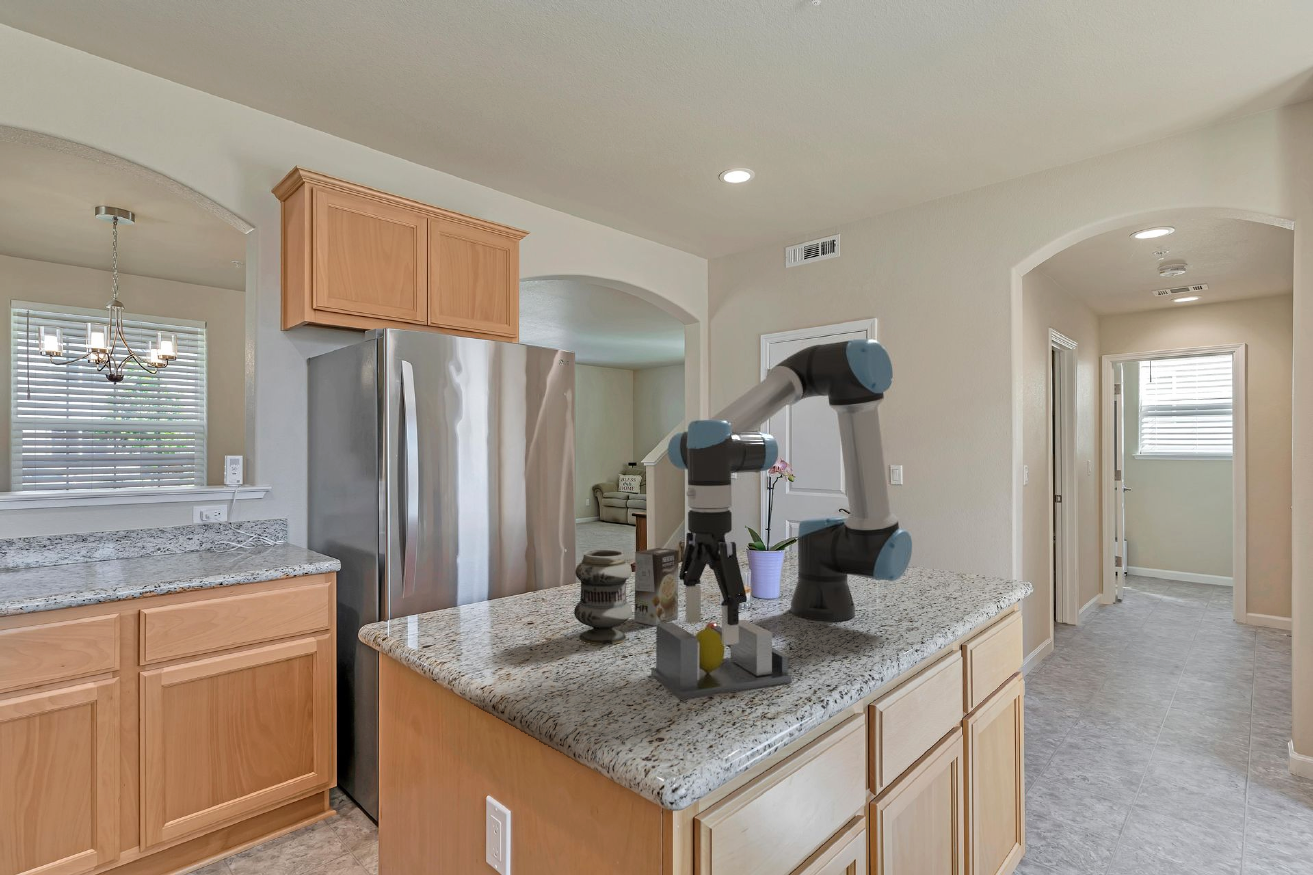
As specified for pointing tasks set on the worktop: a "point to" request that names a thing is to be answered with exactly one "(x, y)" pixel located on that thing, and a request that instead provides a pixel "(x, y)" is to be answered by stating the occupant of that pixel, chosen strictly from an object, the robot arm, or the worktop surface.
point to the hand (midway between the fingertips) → (710, 632)
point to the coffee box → (656, 586)
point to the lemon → (710, 649)
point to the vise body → (689, 681)
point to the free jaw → (751, 647)
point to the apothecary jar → (603, 596)
